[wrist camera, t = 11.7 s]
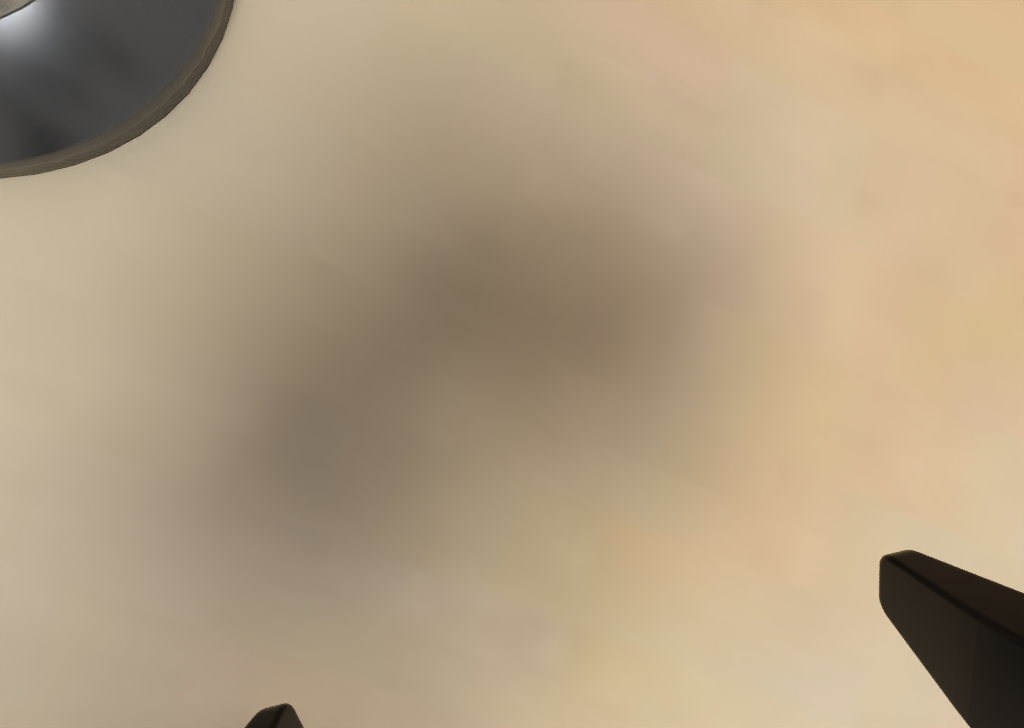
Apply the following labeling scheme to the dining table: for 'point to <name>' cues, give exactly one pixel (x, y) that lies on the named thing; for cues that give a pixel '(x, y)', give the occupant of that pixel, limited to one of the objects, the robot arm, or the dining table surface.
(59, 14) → the base plate
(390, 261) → the dining table surface
